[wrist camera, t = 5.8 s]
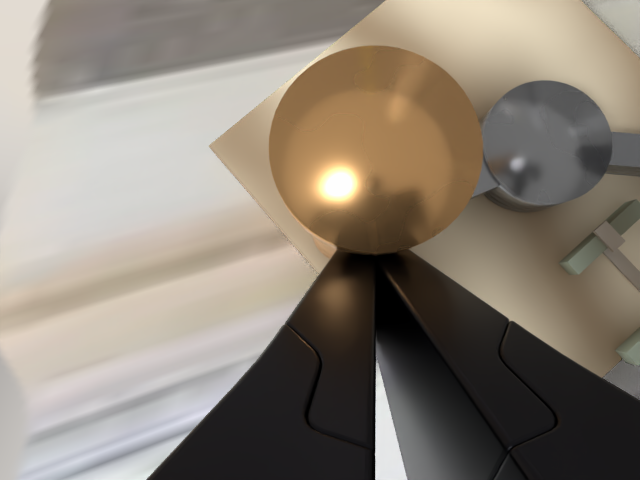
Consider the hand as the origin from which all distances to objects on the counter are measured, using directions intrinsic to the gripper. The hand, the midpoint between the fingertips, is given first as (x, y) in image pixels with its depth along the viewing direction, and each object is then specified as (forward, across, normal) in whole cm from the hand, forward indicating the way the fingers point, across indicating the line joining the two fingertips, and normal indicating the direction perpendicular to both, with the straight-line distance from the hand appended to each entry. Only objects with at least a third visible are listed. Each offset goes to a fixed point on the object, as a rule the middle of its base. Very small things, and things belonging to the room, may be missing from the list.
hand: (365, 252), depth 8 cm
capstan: (+7, +6, -3) cm, 10 cm away
